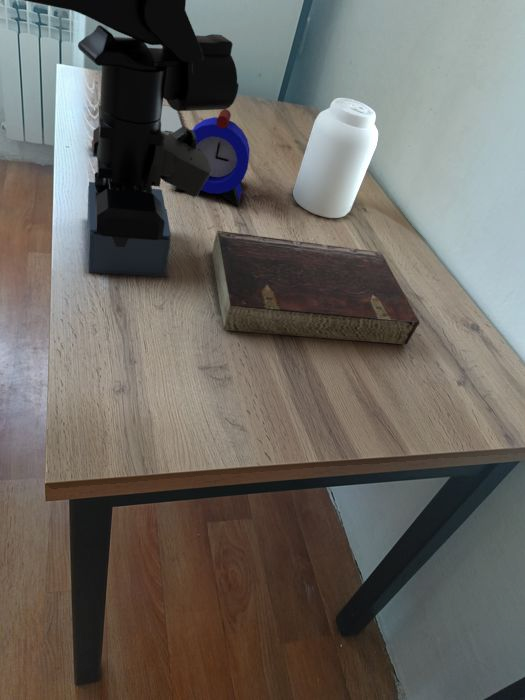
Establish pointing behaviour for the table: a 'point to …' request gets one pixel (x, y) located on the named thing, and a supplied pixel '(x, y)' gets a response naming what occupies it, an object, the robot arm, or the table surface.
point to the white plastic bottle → (336, 158)
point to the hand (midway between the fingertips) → (120, 245)
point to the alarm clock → (223, 155)
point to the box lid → (93, 220)
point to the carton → (126, 250)
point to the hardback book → (309, 290)
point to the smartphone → (170, 120)
